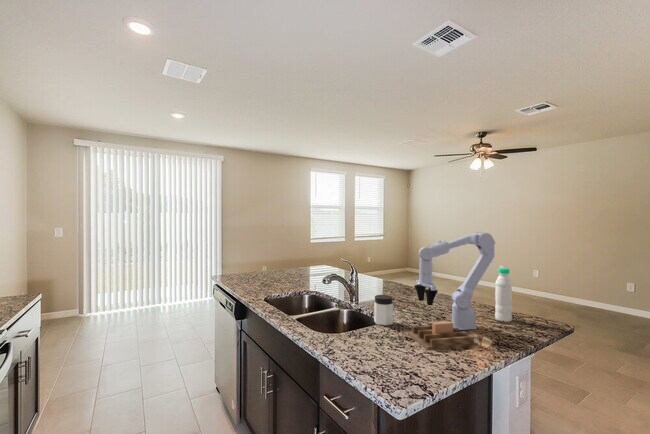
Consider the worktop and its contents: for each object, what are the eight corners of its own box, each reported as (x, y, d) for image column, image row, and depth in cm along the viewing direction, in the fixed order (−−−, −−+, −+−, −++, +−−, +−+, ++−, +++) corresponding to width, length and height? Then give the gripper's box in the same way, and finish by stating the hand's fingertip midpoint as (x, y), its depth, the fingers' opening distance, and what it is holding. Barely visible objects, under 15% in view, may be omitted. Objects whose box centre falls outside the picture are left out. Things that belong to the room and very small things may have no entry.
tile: (449, 336, 128) (449, 321, 128) (453, 338, 126) (453, 323, 126) (432, 337, 126) (432, 322, 126) (435, 339, 124) (435, 324, 124)
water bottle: (496, 321, 150) (496, 268, 150) (494, 316, 156) (494, 266, 156) (513, 323, 147) (513, 269, 147) (510, 318, 154) (510, 267, 154)
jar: (382, 326, 140) (382, 300, 140) (370, 321, 147) (370, 296, 147) (396, 323, 145) (396, 297, 145) (384, 318, 152) (384, 293, 152)
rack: (454, 331, 135) (454, 323, 135) (478, 345, 121) (478, 336, 121) (407, 334, 131) (407, 326, 131) (426, 349, 116) (426, 340, 116)
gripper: (410, 270, 150) (409, 299, 150) (426, 276, 136) (425, 307, 136) (423, 270, 152) (423, 298, 152) (440, 275, 138) (440, 306, 138)
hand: (425, 302), depth 144 cm, fingers open, 7 cm apart
